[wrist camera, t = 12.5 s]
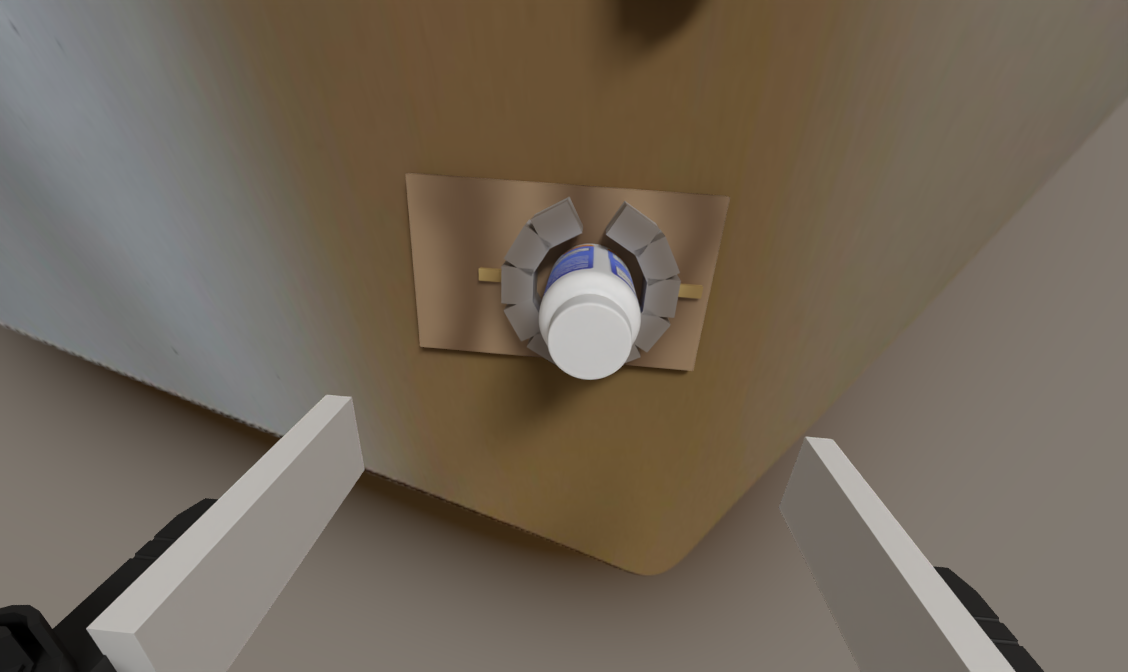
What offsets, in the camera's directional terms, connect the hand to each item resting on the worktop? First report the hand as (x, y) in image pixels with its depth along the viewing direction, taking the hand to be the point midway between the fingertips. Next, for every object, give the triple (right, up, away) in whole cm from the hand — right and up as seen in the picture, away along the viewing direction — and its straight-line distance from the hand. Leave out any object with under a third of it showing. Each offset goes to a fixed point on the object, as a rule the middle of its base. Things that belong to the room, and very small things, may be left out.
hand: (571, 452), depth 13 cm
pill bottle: (+2, +7, +16) cm, 18 cm away
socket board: (-1, +8, +17) cm, 18 cm away
